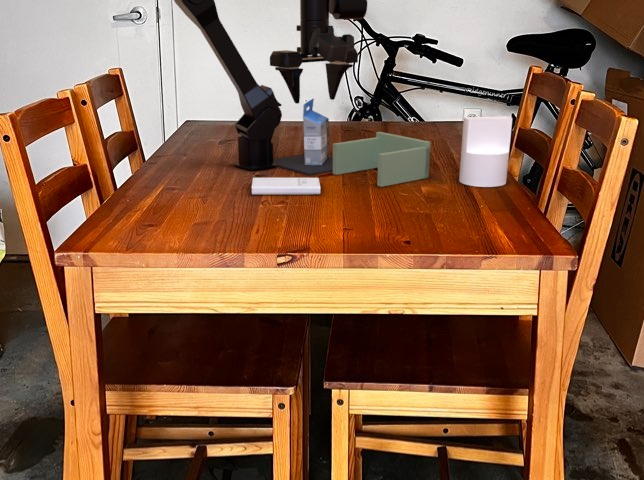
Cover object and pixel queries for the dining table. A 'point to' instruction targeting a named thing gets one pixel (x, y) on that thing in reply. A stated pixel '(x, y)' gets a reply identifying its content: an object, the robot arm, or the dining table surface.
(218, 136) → the dining table surface
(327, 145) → the label tape box
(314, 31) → the robot arm
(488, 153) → the cylinder with rectangular tab
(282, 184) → the hard drive
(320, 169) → the mat
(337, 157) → the u-shaped bracket
